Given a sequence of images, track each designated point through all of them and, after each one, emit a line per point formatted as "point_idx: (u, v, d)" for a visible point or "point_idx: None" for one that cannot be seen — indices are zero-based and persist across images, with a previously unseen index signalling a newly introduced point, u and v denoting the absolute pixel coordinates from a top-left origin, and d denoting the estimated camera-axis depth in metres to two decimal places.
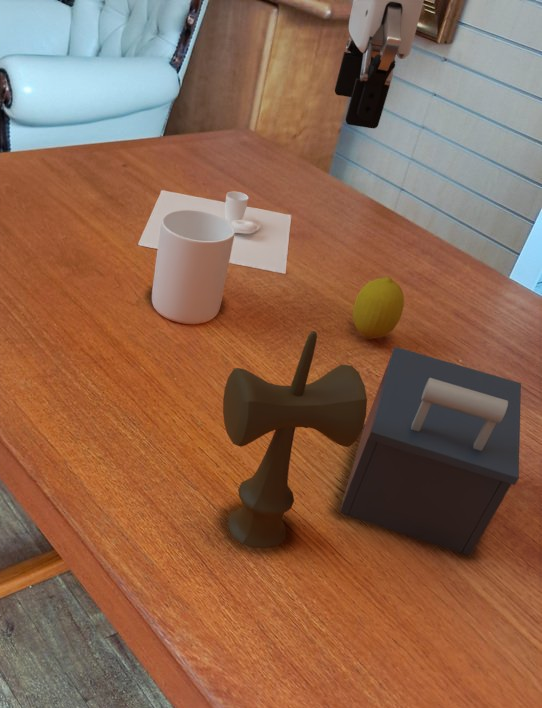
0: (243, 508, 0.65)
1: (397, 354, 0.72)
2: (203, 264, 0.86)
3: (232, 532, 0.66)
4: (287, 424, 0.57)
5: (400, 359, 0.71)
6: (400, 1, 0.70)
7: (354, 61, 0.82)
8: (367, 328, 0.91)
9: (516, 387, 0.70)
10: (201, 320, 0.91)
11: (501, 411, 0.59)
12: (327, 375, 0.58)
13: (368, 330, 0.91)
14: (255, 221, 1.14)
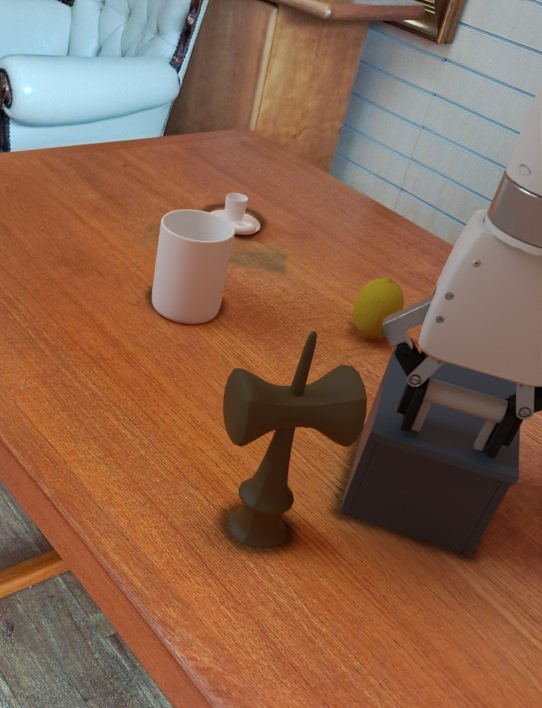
0: (243, 508, 0.65)
1: None
2: (203, 264, 0.86)
3: (232, 532, 0.66)
4: (287, 424, 0.57)
5: None
6: None
7: None
8: (367, 328, 0.91)
9: None
10: (201, 320, 0.91)
11: (501, 411, 0.59)
12: (327, 375, 0.58)
13: (368, 330, 0.91)
14: (255, 222, 1.15)
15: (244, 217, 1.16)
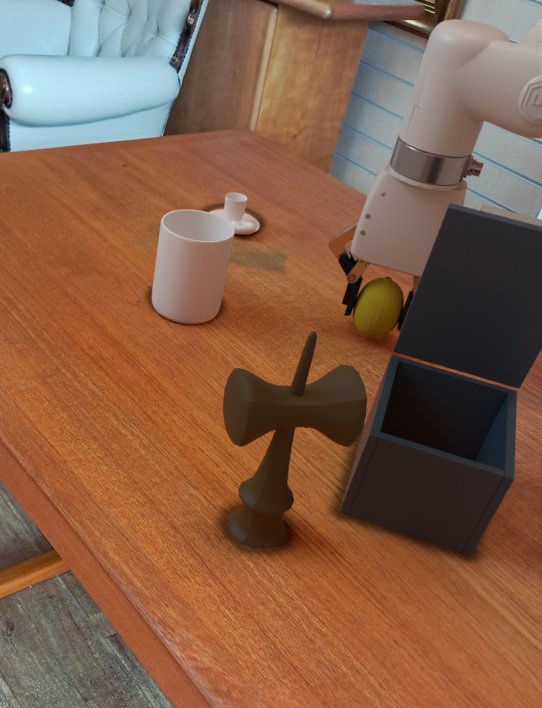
0: (243, 508, 0.65)
1: None
2: (203, 264, 0.86)
3: (232, 532, 0.66)
4: (287, 424, 0.57)
5: None
6: None
7: None
8: (367, 328, 0.91)
9: None
10: (201, 320, 0.91)
11: None
12: (327, 375, 0.58)
13: (368, 330, 0.91)
14: (254, 222, 1.15)
15: (243, 217, 1.16)
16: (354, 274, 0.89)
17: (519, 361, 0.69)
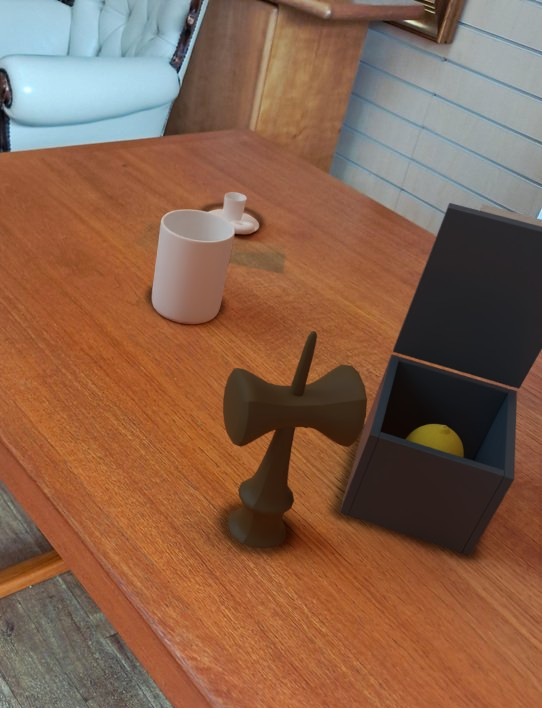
0: (243, 508, 0.65)
1: None
2: (203, 264, 0.86)
3: (232, 532, 0.66)
4: (287, 424, 0.57)
5: None
6: None
7: None
8: None
9: None
10: (201, 320, 0.91)
11: None
12: (327, 375, 0.58)
13: None
14: (253, 222, 1.15)
15: (243, 216, 1.16)
16: None
17: (519, 361, 0.69)
